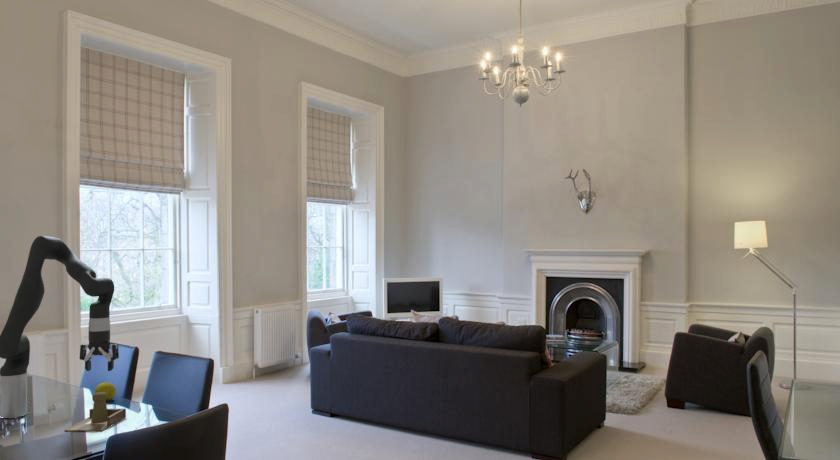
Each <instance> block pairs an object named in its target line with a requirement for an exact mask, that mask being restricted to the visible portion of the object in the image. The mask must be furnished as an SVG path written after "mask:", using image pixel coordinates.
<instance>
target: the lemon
mask: <svg viewBox="0 0 840 460" xmlns="http://www.w3.org/2000/svg"><path fill="white" fill-rule="evenodd" d="M94 392H95V393H98V392H105V393H106V394H107V399H106V402H108V401H111V400H113V399H114V397H115V396H116V393H117V388H116V386H115V385H114V384H113V383H111V382H108V381H107V382H101V383H99V384H97V386H96V387H95V390H94ZM95 393H94V394H95Z"/></svg>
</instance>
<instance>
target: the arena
mask: <svg viewBox="0 0 840 460" xmlns="http://www.w3.org/2000/svg"><path fill="white" fill-rule="evenodd" d="M107 412H108V417H107V421H106V422H103V423H91V420H92V413H93V408H90V409H89V417H86V418H85V419H83V420H81V421H78V422H77V423H75V424H74V425H71V426H69V427H68V428H66V429H64V432H67V433H71V432H77V433H78V432H81V431H99V432H103V431H105V430H107V429H108V427H109V428H110V427H112V426H113V424H114V425H115V424H117V423H119V422H120V421H122V420H123V418H124V417H127V411H126V408H107ZM121 419H122V420H121ZM124 419H125V418H124ZM118 421H119V422H118ZM116 422H117V423H116ZM111 425H112V426H111ZM106 428H107V429H106ZM104 429H105V430H104ZM102 430H103V431H102Z"/></svg>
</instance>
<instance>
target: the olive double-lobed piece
mask: <svg viewBox="0 0 840 460" xmlns="http://www.w3.org/2000/svg"><path fill="white" fill-rule="evenodd" d="M106 399H107V394H106V393H105V392H98V393H93V394H92V402H93V408H92V409H93V413H92V420H91V423H103V422H106V421H107V417H108V412H107V409H108V407H107V401H106Z"/></svg>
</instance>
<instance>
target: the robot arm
mask: <svg viewBox="0 0 840 460" xmlns="http://www.w3.org/2000/svg"><path fill="white" fill-rule="evenodd" d="M45 260H51V261H52V260H53V261H57V262H59V263H61V264H63V265H64V267H65V270H66V273H67V274H68V275H69V276H70V277H71V279H73V280H74V281H76V283H78V284H79V285H80V287H81V289H82V290H83V292H84V293H85V294H86V295H87V296H90V297H92V298H95V297H98V298H97V300H96V301H95V302H92V303H90V305H89V311H88V312H89V318H88V319H89V321H88V328H87V329H88V344H87V343H83V344H80V347H79V360H81V361H84V369H85V371H86V372H90V371H91V370H92V360H91V359H92V358H93V357H94V356H100V357H101V356H103V357H105V358H106V360H107V371H108V372H111V371H113V369H114V367H115V366H114V363H115V360H118V359H119V358H120V355H119V353H120V352H119V351H120V350H119V344H118V343H114V344H111V342H110V340H111V320H110V312H111V311H110V306H111V303H112V301H113V297H114V293H115V284H114V282H113V280H112V279H111V278H110V277H98V278H97V274H96V273H97V272H96V271H95V270H94V269H93V268H91V267H89V265H87V264H86V263H85V262H83V261H82V260H81V259H80V258H79V257H77V255H76V254H75V253H74V252H73V251H72V249H71V248H70V247H69V246H68V244H66V243H65V241H63V240H62V239H61V238H58V237H55V236H54V237H53V236H48V235H47V236H46V235H39V236H36V238H34V240H33V242H32V243H31V245H30V248H29V253H28V257H27V262H26V265H25V269H24V272H23V275H22V279H21V280H20V284H19V287H18V289H17V292H16V295H15V297H14V300H13V303H12V306H11V308H10V312H9V314H8V316H7V317H8V318H7V319H6V323H5V324H4V327H3V329H2V331H1V333H0V358H1V359H3V360H5V362H4V363H3V365H2V366H1V367H0V416H1V417H3V418H14V419H16V418H15V417H19V416H23V415H25V414H27V415H28V368H29V364H30V357H31V356H30V354H31V353H30V352H31V344H30V339H29V337H28V336H27V335H25V334H24V330H25V328H26V327H27V325H28V323H30V321H31V319H32V318H33V317H34V315H36V312H37V311H38V310H39V308H40V306H41V303H42V301H43V299H44V295H45V291H46V290H45V284H44V281H43V276H42V270H43V265H44V263H45ZM110 349H111V350H110ZM87 350H89V352H88V353H87ZM25 416H26V415H25ZM23 417H24V416H23ZM19 418H20V417H19Z"/></svg>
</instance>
